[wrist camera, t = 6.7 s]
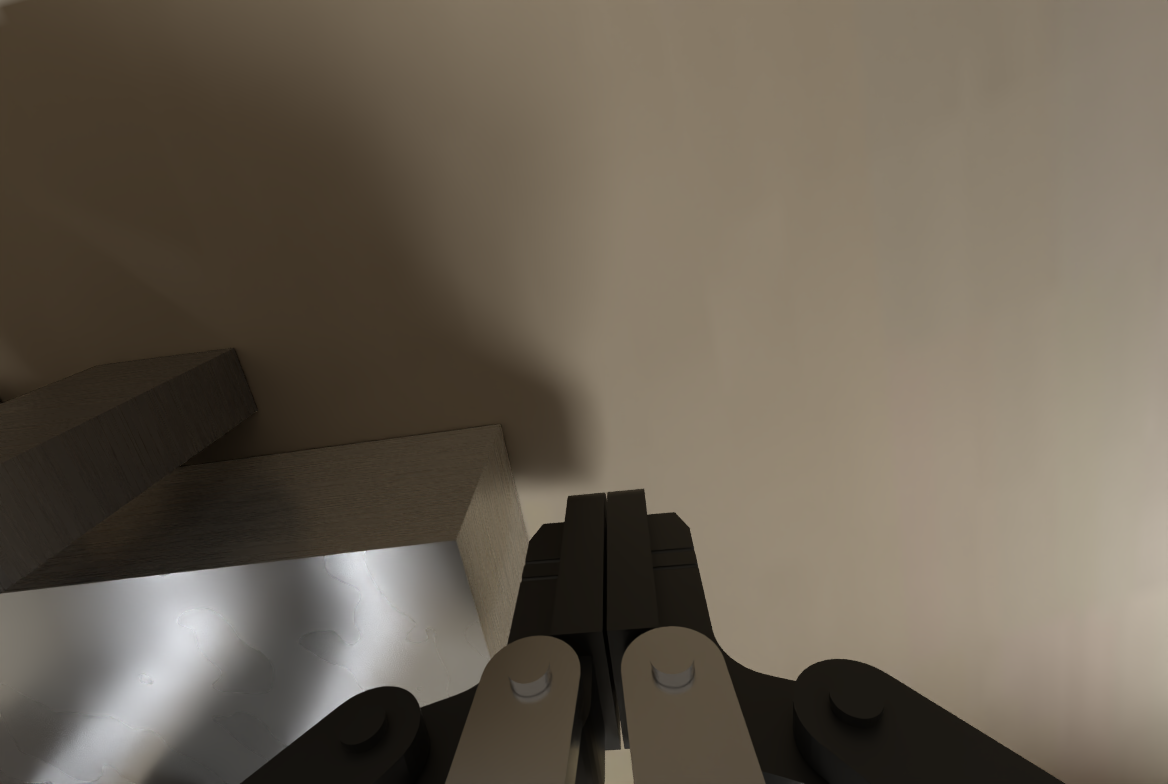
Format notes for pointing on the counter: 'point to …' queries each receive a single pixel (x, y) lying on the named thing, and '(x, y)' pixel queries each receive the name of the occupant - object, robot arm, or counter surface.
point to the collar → (105, 445)
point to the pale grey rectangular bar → (258, 608)
